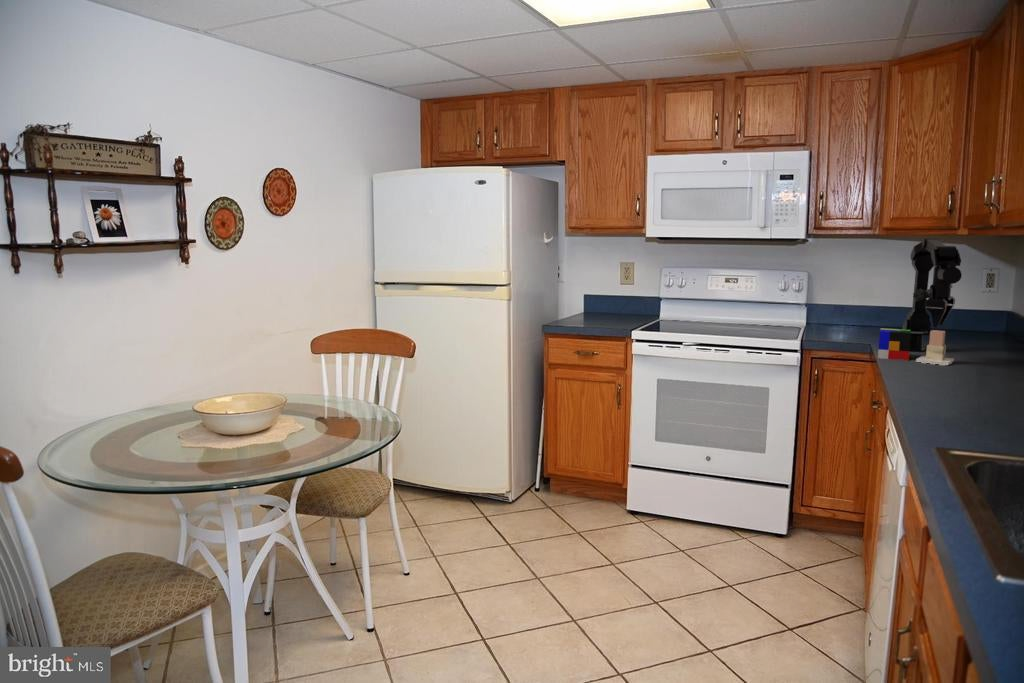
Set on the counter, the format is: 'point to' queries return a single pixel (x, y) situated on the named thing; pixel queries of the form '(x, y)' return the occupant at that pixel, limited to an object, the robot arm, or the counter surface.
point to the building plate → (935, 361)
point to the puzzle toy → (894, 344)
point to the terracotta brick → (937, 338)
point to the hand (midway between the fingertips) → (938, 326)
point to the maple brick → (935, 352)
